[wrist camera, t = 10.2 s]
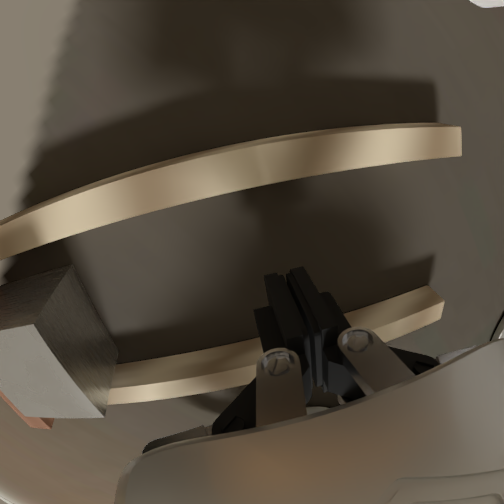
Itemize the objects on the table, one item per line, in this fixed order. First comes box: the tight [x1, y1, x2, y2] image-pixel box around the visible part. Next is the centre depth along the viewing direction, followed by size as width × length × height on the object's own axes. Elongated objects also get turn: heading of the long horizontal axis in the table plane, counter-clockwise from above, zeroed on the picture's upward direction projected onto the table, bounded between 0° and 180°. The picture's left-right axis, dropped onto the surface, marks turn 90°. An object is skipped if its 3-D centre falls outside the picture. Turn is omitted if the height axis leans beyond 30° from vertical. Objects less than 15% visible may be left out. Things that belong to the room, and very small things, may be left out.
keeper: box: [0, 264, 119, 418], centre depth 12 cm, size 6×6×5 cm
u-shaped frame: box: [0, 123, 462, 429], centre depth 13 cm, size 28×12×4 cm, turn 100°
